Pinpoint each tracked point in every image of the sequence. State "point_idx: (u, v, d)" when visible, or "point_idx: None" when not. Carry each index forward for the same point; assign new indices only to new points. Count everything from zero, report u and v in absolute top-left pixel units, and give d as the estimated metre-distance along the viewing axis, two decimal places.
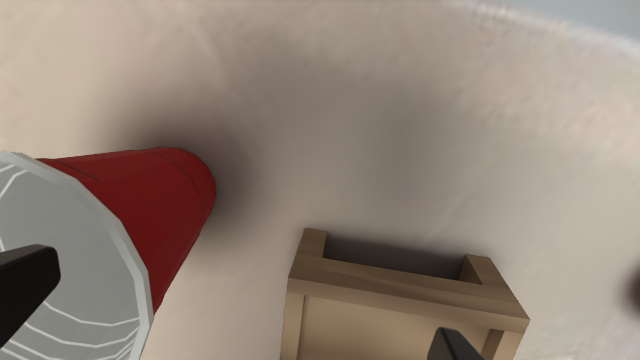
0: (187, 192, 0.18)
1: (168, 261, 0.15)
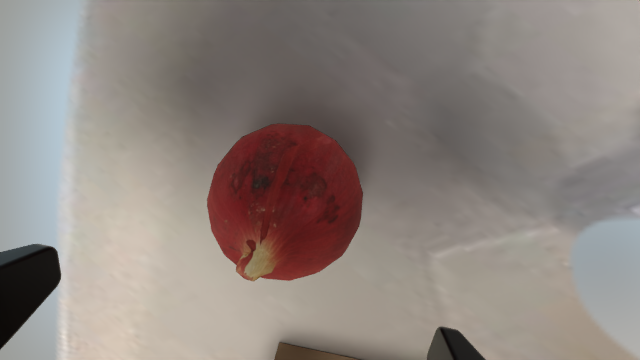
0: None
1: None
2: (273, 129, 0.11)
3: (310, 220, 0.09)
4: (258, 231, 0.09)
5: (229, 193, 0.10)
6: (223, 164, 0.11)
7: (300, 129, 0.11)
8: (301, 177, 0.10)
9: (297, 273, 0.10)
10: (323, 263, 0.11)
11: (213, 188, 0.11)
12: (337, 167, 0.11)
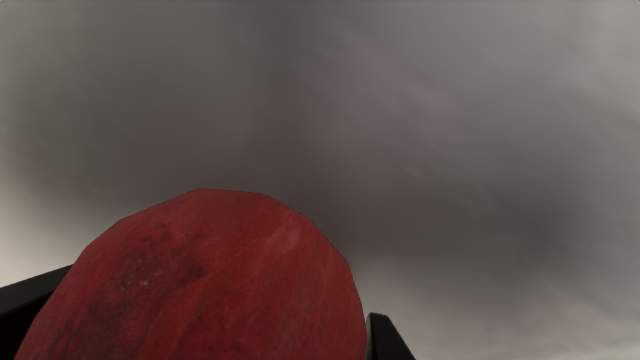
0: None
1: None
2: (166, 217, 0.05)
3: None
4: None
5: None
6: (46, 303, 0.05)
7: (228, 217, 0.05)
8: None
9: None
10: None
11: None
12: (307, 322, 0.04)
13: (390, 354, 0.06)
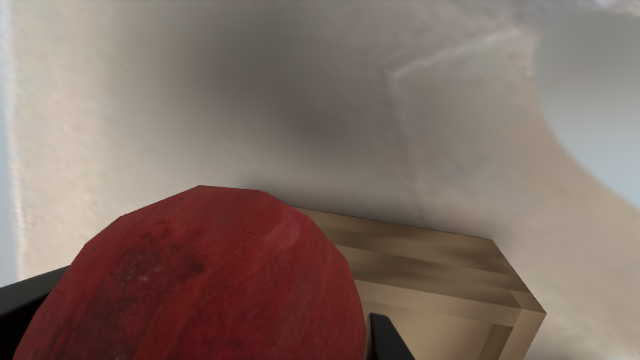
0: None
1: None
2: (166, 213, 0.05)
3: None
4: None
5: None
6: (46, 299, 0.05)
7: (228, 214, 0.05)
8: None
9: None
10: None
11: None
12: (306, 318, 0.04)
13: (390, 354, 0.06)
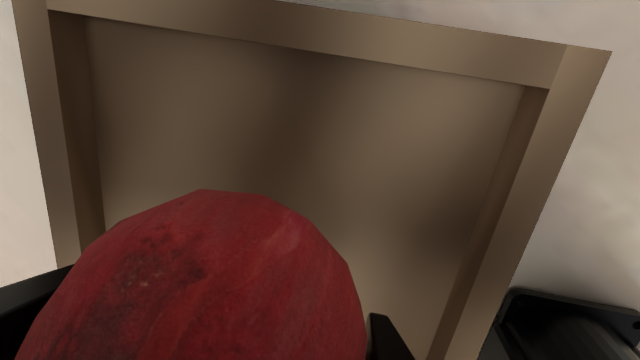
0: None
1: None
2: (167, 218, 0.05)
3: None
4: None
5: None
6: (47, 303, 0.05)
7: (228, 218, 0.05)
8: None
9: None
10: None
11: None
12: (307, 323, 0.04)
13: (390, 354, 0.06)
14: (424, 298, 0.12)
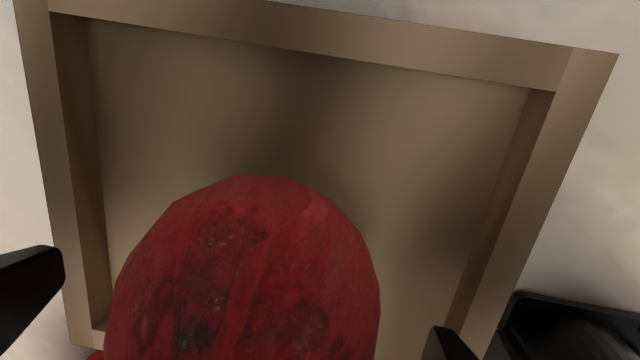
0: None
1: None
2: (223, 196, 0.06)
3: None
4: None
5: (129, 353, 0.05)
6: (129, 268, 0.06)
7: (273, 195, 0.06)
8: (277, 313, 0.05)
9: None
10: None
11: (108, 320, 0.06)
12: (343, 270, 0.06)
13: None
14: (427, 302, 0.12)
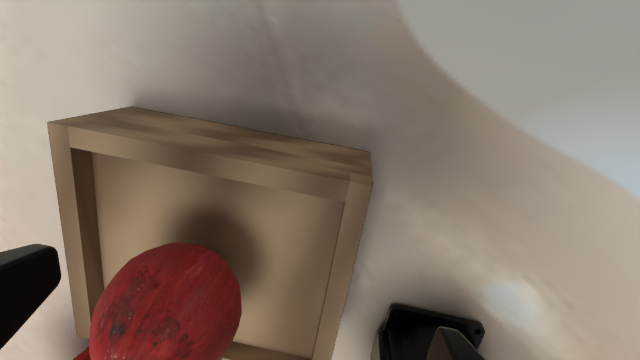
0: None
1: None
2: (147, 262, 0.13)
3: None
4: None
5: (95, 334, 0.11)
6: (103, 295, 0.13)
7: (171, 262, 0.13)
8: (154, 322, 0.11)
9: None
10: None
11: None
12: (197, 303, 0.12)
13: None
14: (306, 312, 0.18)
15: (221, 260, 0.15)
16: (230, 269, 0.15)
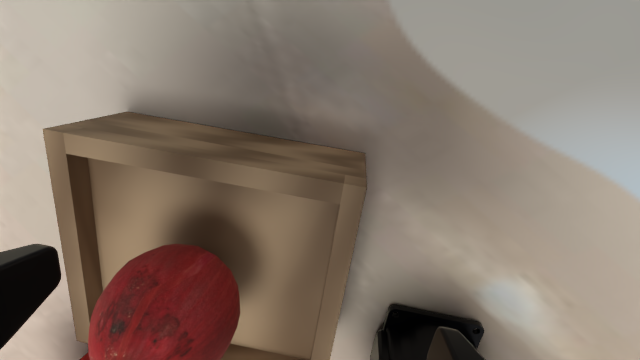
0: None
1: None
2: (147, 262, 0.13)
3: None
4: None
5: (95, 333, 0.12)
6: (102, 295, 0.13)
7: (170, 262, 0.13)
8: (154, 320, 0.11)
9: None
10: None
11: (91, 319, 0.12)
12: (196, 301, 0.12)
13: None
14: (304, 314, 0.18)
15: (219, 260, 0.15)
16: (228, 269, 0.15)
